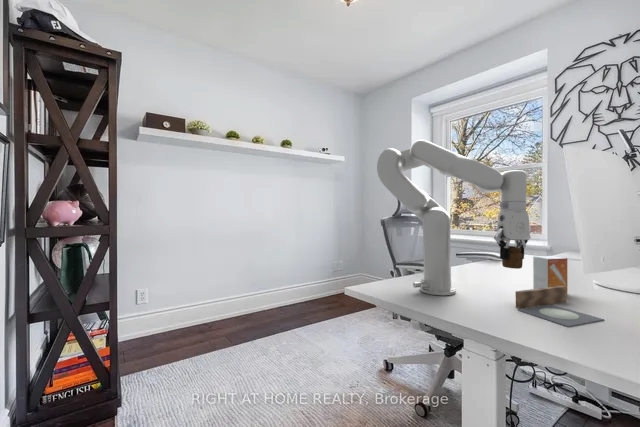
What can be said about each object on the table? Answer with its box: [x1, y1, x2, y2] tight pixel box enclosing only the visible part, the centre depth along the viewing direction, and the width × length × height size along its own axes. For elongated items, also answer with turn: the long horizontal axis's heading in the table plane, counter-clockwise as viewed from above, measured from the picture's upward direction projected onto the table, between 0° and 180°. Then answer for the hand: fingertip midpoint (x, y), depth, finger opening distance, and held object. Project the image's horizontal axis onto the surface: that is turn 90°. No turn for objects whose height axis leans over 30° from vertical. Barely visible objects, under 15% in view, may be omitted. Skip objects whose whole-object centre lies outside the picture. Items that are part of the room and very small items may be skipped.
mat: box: [517, 304, 605, 328], centre depth 86 cm, size 14×14×1 cm
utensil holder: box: [501, 239, 524, 270], centre depth 103 cm, size 6×6×12 cm
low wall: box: [515, 286, 567, 309], centre depth 95 cm, size 20×2×5 cm, turn 107°
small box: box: [532, 255, 568, 296], centre depth 108 cm, size 8×6×13 cm
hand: (511, 258), depth 103 cm, fingers closed on utensil holder, 5 cm apart
